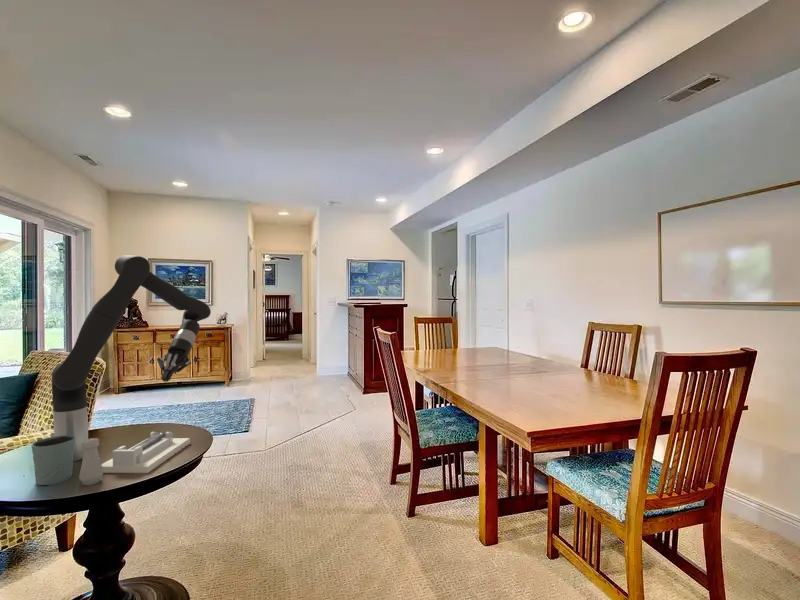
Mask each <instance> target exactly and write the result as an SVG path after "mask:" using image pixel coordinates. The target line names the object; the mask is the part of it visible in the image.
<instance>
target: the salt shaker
mask: <svg viewBox="0 0 800 600" xmlns="http://www.w3.org/2000/svg"><path fill="white" fill-rule="evenodd" d="M99 446H100V439H99V438H98V437H91V438H88V439H87V440H84V441H83V442H82V449H84V455H83V458H82V459H81V460H82V462H81V466H80V471H79V475H78V478H79V481H80V483H82V486H92V485H95V484H97V483H99V482H101V480H102V477H103V476H104V475H103V474H104V473H103V470H102V465H101V464H102V461H101V458H100V453H99V449H98V447H99Z"/></svg>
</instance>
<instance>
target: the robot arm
mask: <svg viewBox="0 0 800 600" xmlns="http://www.w3.org/2000/svg"><path fill="white" fill-rule="evenodd" d="M114 270H115V272H116V274H117V275H118V276H117V277H118V278H117V279H116V281H115V283H114V284H113V286H111V288H110V289H109V290H108V291H107V292H106V293H105V294H104V295H102V297H101V298H100V299H98V301H97V302H96V303H95V304H94V305H93V307H92V308H91V310H90V311H89V313H88V314H87V316H86V318H85V320H84V321H83V323H82V325H81V327H80V330H79V333H78V336H77V338H76V342H75V343H74V345H73V347H72V349H71V351H70V352H69V354H68V355H67V357H66V358H65V359H64V361H62V362H60V363H58V364H57V365H56V366H55V367H54V368H53V370H52V372H51V392H52V393H51V394H52V398H51V399H52V414H53V416H52V417H53V419H52V420H53V432H51V433H50V437H55V436H63V435H71V436H74V437H75V443H74V450H73V451H74V453H73V462H77V461H79V460H83V455H84V449H82V442H83V441H84V440H87V439H89V423H88V422H89V418H88V395H87V384H86V383H87V379H88V376H89V374H90V372H91V370H92V367H93V365H94V362H95V361H96V359H97V356H98V355H99V353H100V352H101V350H102V349H103V348H104V346H105V345H106V344H107V342H108V340H109V339H110V337H111V335H112V334H113V332H114V331H115V330H116V328H117V326H118V324H119V323H120V320H121V319H122V317H123V315H124V313H125V311H126V309H127V308H128V306H129V304H130V303H131V300H132V299H133V298H134V295H136V292H138V290H139V288H140V287H143V288H144V289H146V290H147V291H150V292H151V293H152V294H153V295H155V296H157V297H158V298H160V299H161V300H162V301H164V302H166V304H169V305H170V306H171V307H173V308H174V309H176V310H177V311H184V312H183V314H182V320H181V325H180V327H179V329H178V331H177V332H176V334H175V335H174V337H173V339H172V341H171V343H170V345H169V347H168V350H167V353H165V354H164V356H163V357H161V358H160V357H158V358H156V361H157V363H158V366H159V368H160V370H161V371H162V374H161V380H162V381H163V382H164V383H165V382H166V383H167V382H169V381H170V380H171V379H172V376H173V375H174V374H175V373H179V372H181V371H182V370H184V369H185V368H186V367H188V366H190V365H191V363H192V362H191V359H190V358H189V357H188V356H189V355H190V352H191V350H192V349H193V347H194V344H195V342H196V338H197V336H198V334H199V331H200V328H201V326H200V323H199V322H200V321H202V320H205V319H207V318H209V317H210V316H211V313H212V312H211V311H212V310H211V307H210V306H209V305H208V304H207V303H205V301H202V300H200V299H198V298H195V297H192V296H189V295H188V294H187V293H185V292H184V291H183V290H181V289H180V288H179V287H177V286H175V285H174V284H172V283H170V282H168V281H166V280H164V279H162V278H161V277H159V276H157V275H155V274H154V273H153V272H151V264H150V262H149V261H148V259H147V258H145V257H143V256H139V255H134V254H125V255H120V256H119V257H118V258H117V259H116V260H115V262H114Z"/></svg>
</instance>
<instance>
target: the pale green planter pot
mask: <svg viewBox="0 0 800 600" xmlns="http://www.w3.org/2000/svg"><path fill="white" fill-rule="evenodd" d="M74 443H75V437H74V436H71V435H63V436H55V437H51V436H50V437H45V438H43V439H39V440H37V441H34V442H33V443H32V444H31V446H30V447H31V451H32V459H33V460H32V461H33V464H34V465H33V466H34V477H35V484H36V486H38V485H49V486H53V485H58V484H61V483H64V482H67V481H68V480H70V479H71V478H72V477H73V468H74V467H73V465H74V464H73V463H74V461H73V453H74V451H73V450H74Z"/></svg>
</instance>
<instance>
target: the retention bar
mask: <svg viewBox="0 0 800 600" xmlns="http://www.w3.org/2000/svg"><path fill="white" fill-rule="evenodd" d="M165 434H166V432H157V434H155V435H153V436H152V437H150V436H149V437H148V439H147V438H146V439H147V440H146V439H144V440H145V441H144V440H142V441H143V442H142V441H141V442H142V443H140V442H139V443H140V444H138V443H137V444H138V445H137V444H136V445H137V446H143V450H144V449H145V448H147V447H148V446H150V445H152V444H153V443H155V442H156V441H158V440H160V439H161V438H165ZM134 446H135V445H134ZM137 446H135V447H133V446H132V447H133V448H131V447H130V448H131V449H130V448H129V449H130V450H133V449H134V448H136V447H137Z"/></svg>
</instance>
